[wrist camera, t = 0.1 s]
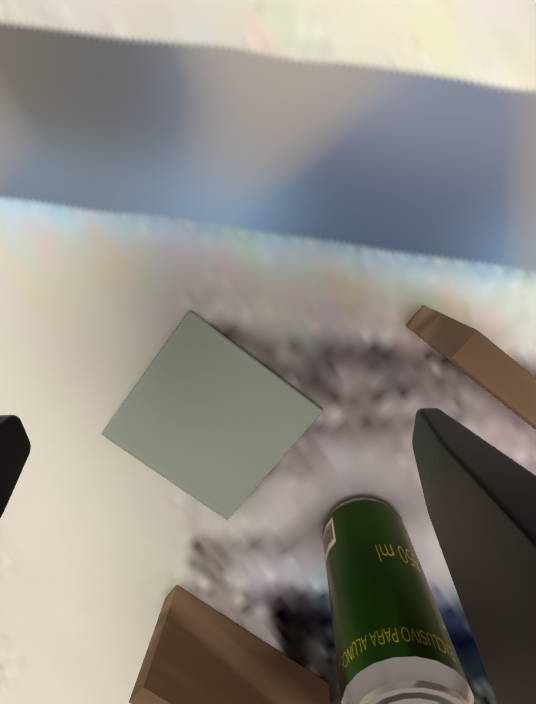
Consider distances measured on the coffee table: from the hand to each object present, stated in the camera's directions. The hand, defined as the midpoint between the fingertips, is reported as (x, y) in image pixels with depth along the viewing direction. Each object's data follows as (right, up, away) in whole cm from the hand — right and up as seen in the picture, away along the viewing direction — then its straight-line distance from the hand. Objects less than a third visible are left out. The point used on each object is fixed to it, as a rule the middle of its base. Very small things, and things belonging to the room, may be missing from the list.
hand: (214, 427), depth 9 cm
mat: (-2, -3, +17) cm, 17 cm away
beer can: (+8, -10, +18) cm, 22 cm away
